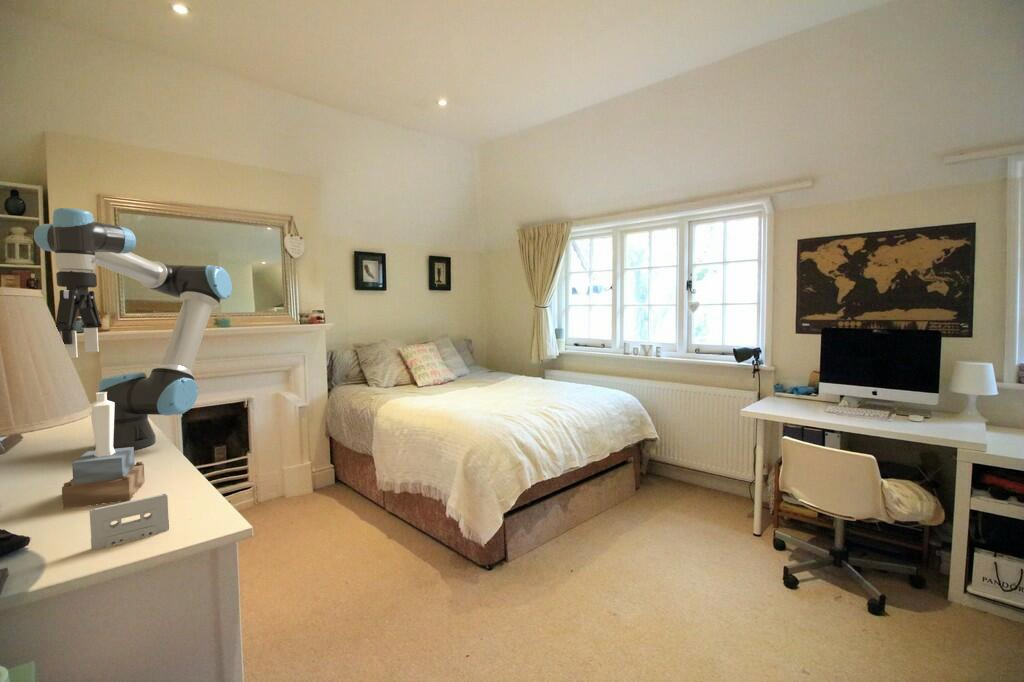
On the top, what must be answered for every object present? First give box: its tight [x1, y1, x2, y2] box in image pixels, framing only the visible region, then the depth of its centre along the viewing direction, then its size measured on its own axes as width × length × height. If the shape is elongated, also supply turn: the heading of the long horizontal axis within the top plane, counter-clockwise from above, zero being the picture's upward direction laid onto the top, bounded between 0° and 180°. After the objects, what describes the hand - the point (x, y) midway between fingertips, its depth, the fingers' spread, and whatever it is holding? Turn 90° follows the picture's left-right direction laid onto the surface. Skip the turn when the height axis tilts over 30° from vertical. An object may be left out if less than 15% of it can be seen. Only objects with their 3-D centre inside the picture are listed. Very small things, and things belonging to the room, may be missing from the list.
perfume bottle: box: [89, 392, 115, 457], centre depth 112 cm, size 5×4×15 cm
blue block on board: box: [61, 447, 145, 510], centre depth 113 cm, size 12×12×10 cm
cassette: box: [89, 493, 170, 551], centre depth 93 cm, size 12×2×8 cm, turn 132°
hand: (81, 354), depth 121 cm, fingers open, 13 cm apart
